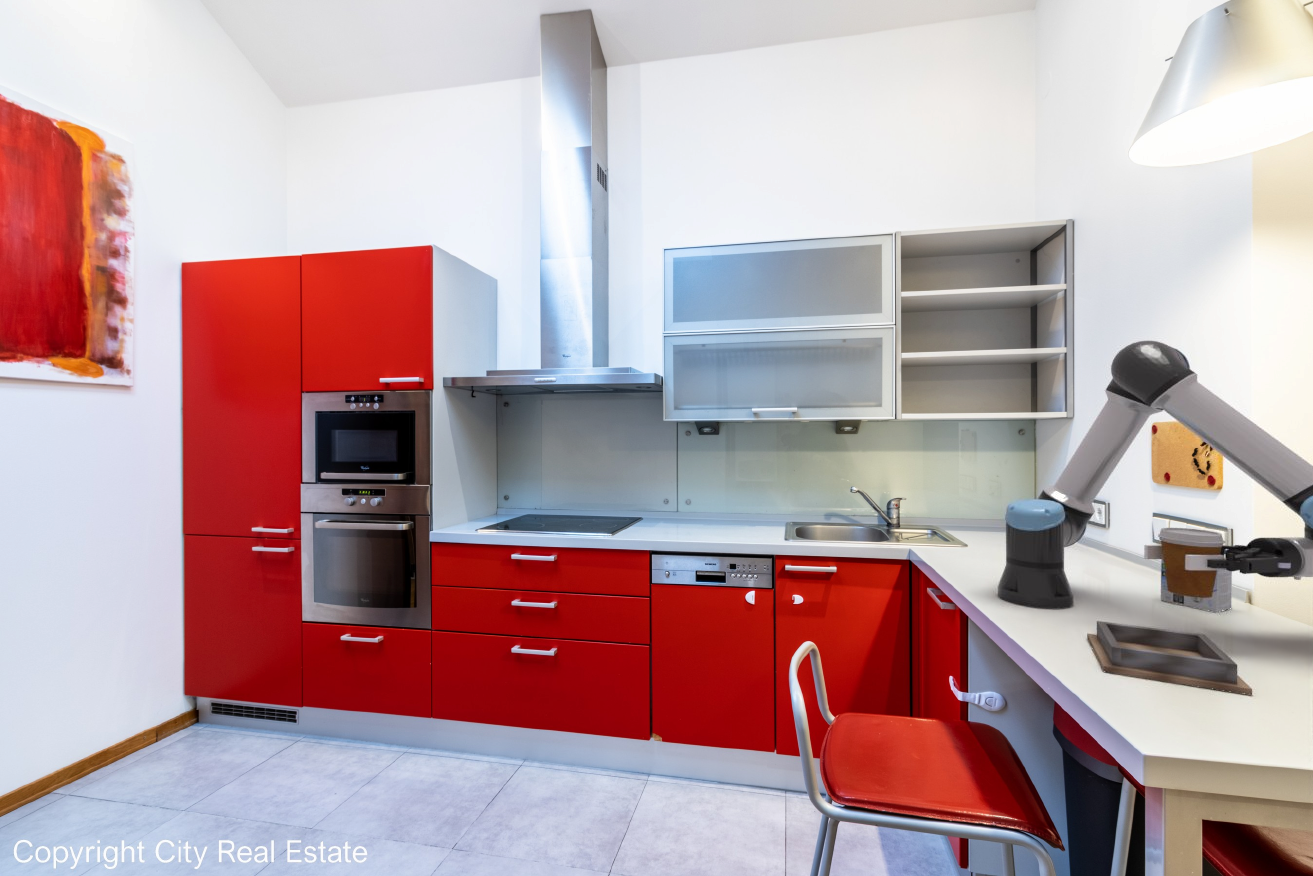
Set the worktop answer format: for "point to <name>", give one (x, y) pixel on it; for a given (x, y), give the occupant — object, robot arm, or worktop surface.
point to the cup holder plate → (1165, 656)
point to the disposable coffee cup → (1174, 552)
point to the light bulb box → (1214, 603)
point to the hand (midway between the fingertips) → (1165, 557)
